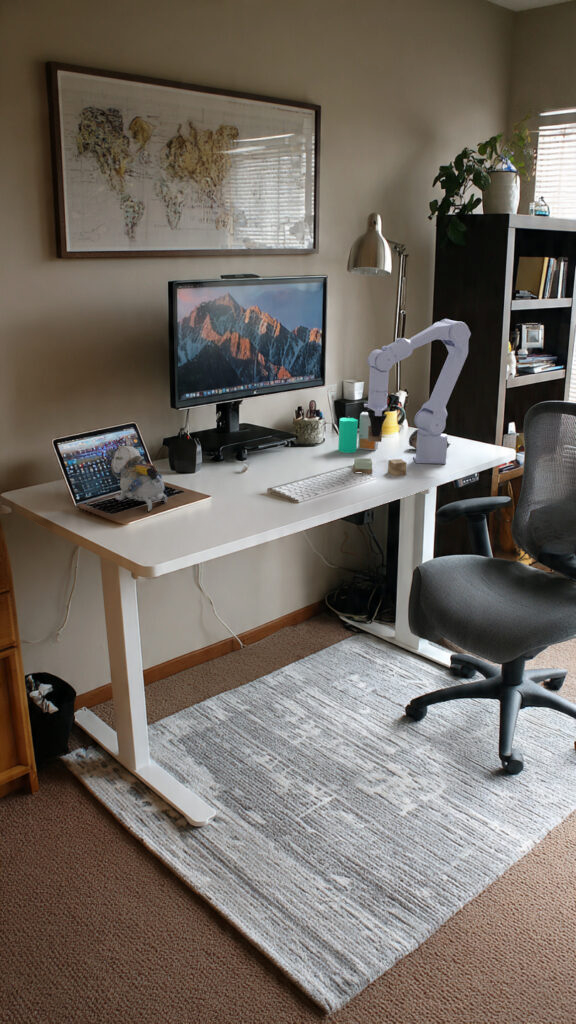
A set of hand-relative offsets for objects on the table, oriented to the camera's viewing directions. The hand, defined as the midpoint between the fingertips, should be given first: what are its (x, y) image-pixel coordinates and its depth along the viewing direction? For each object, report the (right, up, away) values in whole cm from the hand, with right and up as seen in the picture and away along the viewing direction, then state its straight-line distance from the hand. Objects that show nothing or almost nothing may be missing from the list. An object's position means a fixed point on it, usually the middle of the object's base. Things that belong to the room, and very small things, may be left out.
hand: (375, 434), depth 257 cm
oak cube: (+6, -12, -6) cm, 15 cm away
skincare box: (0, -3, +22) cm, 22 cm away
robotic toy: (-66, -22, -37) cm, 79 cm away
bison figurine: (+20, -4, +20) cm, 29 cm away
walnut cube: (0, -2, +1) cm, 2 cm away
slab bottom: (-4, -12, -3) cm, 13 cm away
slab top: (-4, -10, -4) cm, 12 cm away
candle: (-7, -4, +19) cm, 21 cm away
